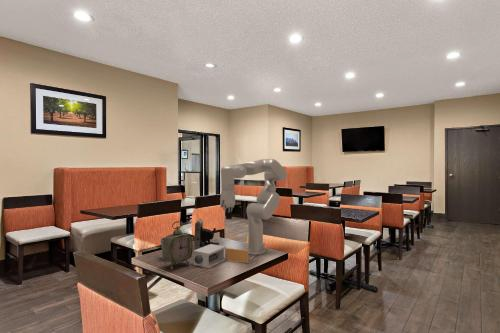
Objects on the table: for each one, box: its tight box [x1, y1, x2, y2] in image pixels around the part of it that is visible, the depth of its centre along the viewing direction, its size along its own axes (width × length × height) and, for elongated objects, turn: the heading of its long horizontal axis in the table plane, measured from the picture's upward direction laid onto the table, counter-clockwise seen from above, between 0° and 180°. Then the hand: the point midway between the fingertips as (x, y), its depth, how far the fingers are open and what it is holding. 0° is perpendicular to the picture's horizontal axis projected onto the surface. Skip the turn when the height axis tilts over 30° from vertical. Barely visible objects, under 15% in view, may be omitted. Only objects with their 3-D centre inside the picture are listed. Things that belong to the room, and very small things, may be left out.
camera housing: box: [192, 244, 227, 269], centre depth 169 cm, size 18×11×8 cm, turn 150°
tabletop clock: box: [163, 220, 194, 271], centre depth 163 cm, size 14×9×25 cm, turn 139°
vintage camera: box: [193, 219, 220, 251], centre depth 194 cm, size 10×15×20 cm, turn 89°
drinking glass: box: [160, 237, 168, 262], centre depth 177 cm, size 10×10×12 cm
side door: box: [224, 247, 250, 264], centre depth 171 cm, size 15×2×7 cm, turn 68°
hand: (228, 218), depth 172 cm, fingers closed
